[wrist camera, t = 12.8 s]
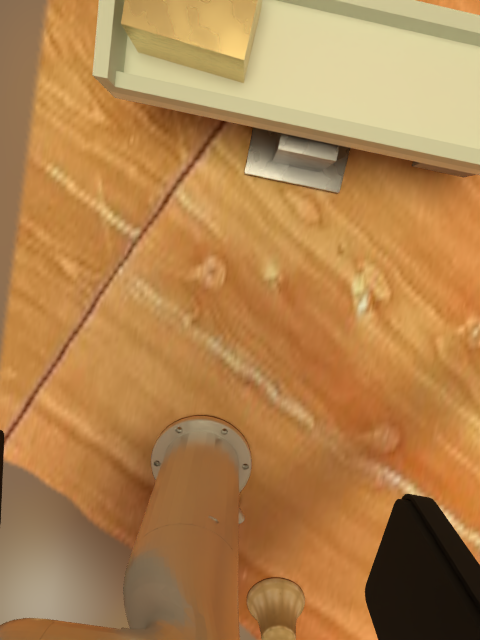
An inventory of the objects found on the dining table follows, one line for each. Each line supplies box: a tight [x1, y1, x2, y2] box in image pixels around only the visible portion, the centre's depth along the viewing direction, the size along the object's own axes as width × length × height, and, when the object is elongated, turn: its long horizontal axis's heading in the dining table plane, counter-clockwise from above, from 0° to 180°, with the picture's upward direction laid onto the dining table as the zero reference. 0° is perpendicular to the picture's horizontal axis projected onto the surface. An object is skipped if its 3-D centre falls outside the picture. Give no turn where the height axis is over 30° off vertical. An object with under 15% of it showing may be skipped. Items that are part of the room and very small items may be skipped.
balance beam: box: [93, 0, 480, 177], centre depth 29 cm, size 32×9×8 cm, turn 79°
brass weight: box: [121, 0, 262, 83], centre depth 25 cm, size 8×5×4 cm, turn 75°
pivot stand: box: [245, 127, 350, 193], centre depth 34 cm, size 10×14×8 cm
